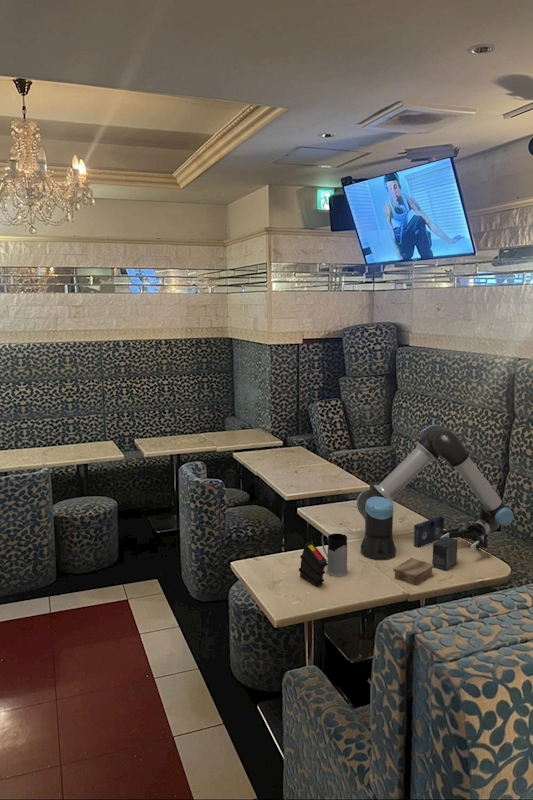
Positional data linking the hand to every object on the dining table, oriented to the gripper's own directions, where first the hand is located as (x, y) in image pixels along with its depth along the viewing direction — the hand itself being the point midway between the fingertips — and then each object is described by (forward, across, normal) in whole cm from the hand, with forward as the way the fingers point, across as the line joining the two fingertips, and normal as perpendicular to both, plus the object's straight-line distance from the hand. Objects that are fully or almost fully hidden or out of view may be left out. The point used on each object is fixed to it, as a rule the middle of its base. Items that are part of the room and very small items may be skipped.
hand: (456, 544), depth 261 cm
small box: (+10, 0, -6) cm, 12 cm away
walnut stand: (+28, +4, -6) cm, 29 cm away
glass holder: (+45, +31, -6) cm, 55 cm away
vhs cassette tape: (-8, +17, -6) cm, 20 cm away
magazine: (+59, +30, -6) cm, 66 cm away
